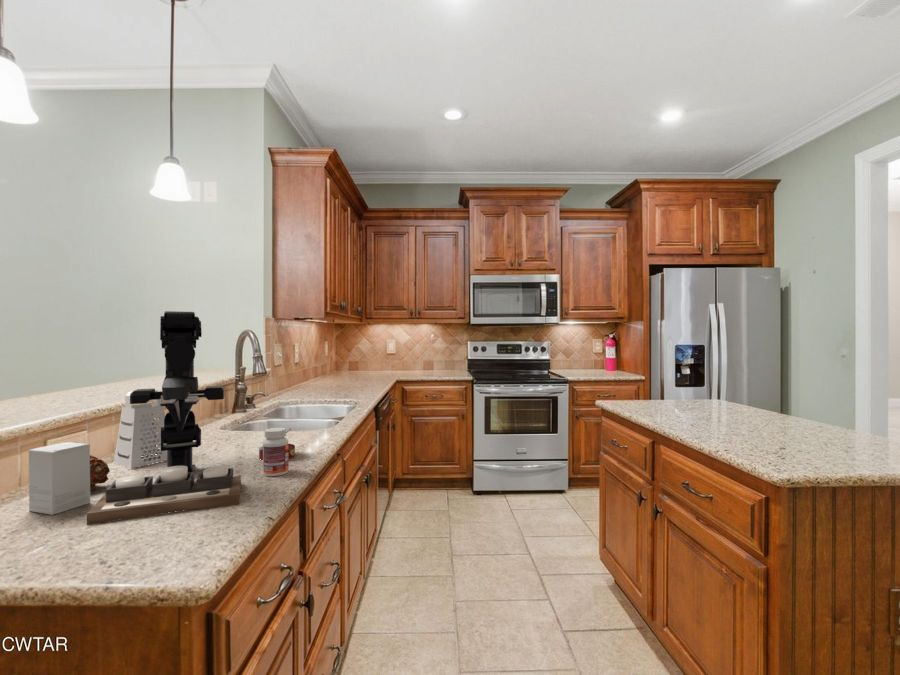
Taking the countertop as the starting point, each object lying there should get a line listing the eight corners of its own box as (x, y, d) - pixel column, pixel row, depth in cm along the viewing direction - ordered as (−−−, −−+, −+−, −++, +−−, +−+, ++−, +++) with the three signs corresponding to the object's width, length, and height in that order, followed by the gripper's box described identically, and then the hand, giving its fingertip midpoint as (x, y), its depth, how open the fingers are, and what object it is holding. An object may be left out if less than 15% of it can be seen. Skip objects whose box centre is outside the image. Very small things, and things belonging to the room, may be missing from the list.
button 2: (204, 478, 104) (204, 468, 104) (228, 476, 106) (228, 465, 106) (201, 485, 99) (201, 474, 99) (227, 482, 101) (227, 471, 101)
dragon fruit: (112, 495, 106) (51, 508, 103) (121, 466, 112) (64, 477, 109) (97, 472, 101) (32, 485, 98) (107, 443, 107) (46, 454, 104)
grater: (172, 460, 131) (172, 390, 131) (131, 469, 122) (130, 394, 122) (154, 455, 136) (153, 388, 136) (113, 463, 127) (113, 391, 127)
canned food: (279, 478, 129) (266, 451, 124) (257, 468, 134) (244, 442, 130) (308, 452, 137) (298, 425, 133) (286, 444, 142) (275, 418, 138)
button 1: (119, 488, 97) (119, 477, 97) (147, 485, 99) (146, 474, 99) (112, 495, 93) (112, 484, 93) (141, 492, 95) (141, 481, 95)
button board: (108, 499, 99) (108, 479, 99) (240, 484, 109) (240, 465, 109) (86, 524, 86) (86, 500, 86) (238, 503, 96) (238, 482, 96)
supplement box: (91, 503, 97) (91, 443, 97) (51, 516, 90) (51, 451, 90) (68, 499, 99) (68, 441, 99) (27, 511, 92) (27, 449, 92)
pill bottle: (291, 474, 117) (291, 430, 117) (265, 478, 113) (265, 432, 113) (285, 468, 122) (285, 426, 122) (260, 472, 118) (260, 428, 118)
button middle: (163, 478, 100) (163, 467, 100) (189, 475, 102) (189, 464, 102) (158, 484, 96) (158, 473, 96) (185, 481, 98) (185, 470, 98)
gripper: (122, 368, 96) (123, 442, 96) (221, 365, 104) (222, 434, 104) (135, 365, 107) (136, 432, 107) (224, 363, 114) (225, 425, 114)
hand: (180, 431), depth 107 cm, fingers closed
